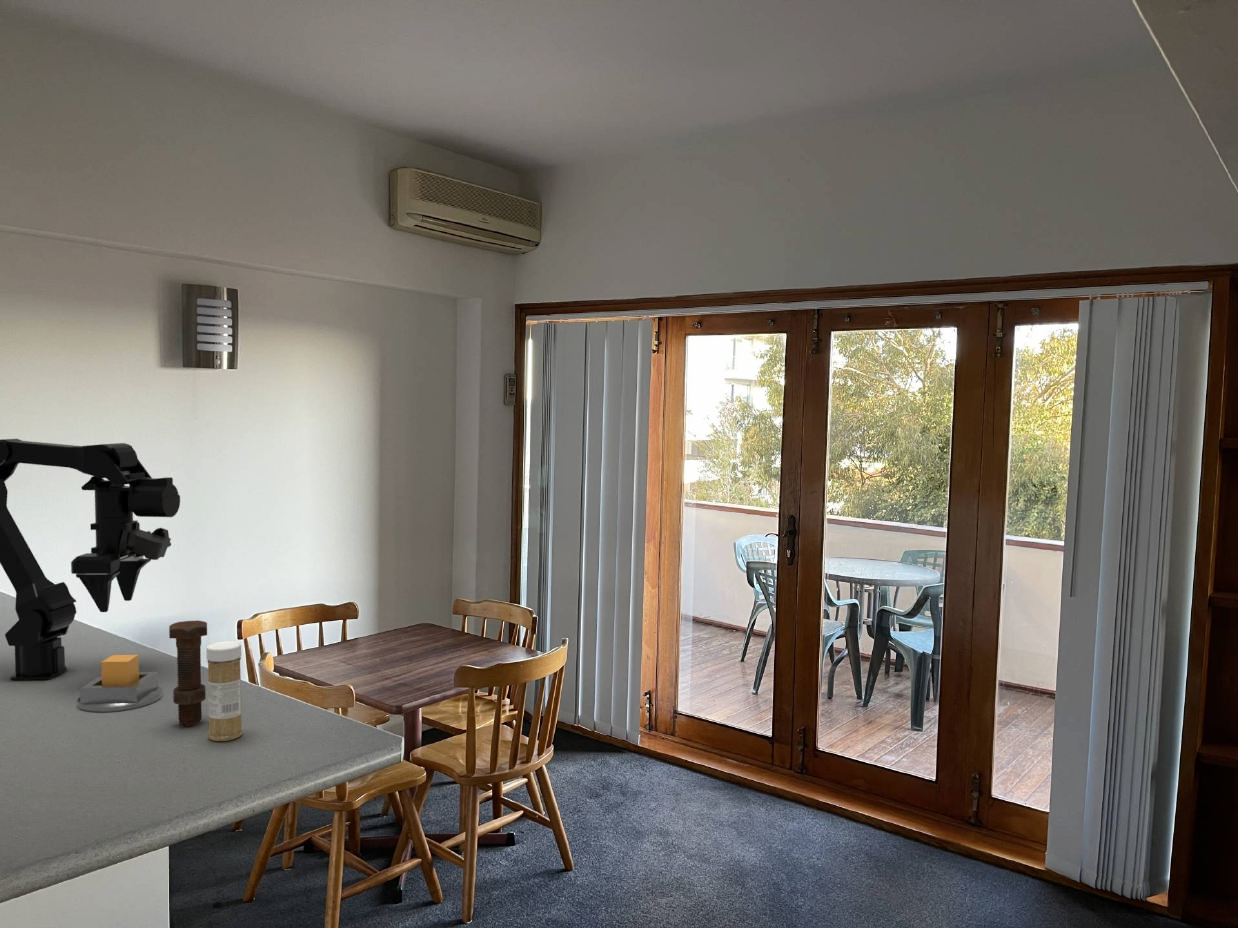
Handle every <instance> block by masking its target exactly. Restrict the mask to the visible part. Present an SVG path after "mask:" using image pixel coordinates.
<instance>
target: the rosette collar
mask: <svg viewBox="0 0 1238 928" xmlns="http://www.w3.org/2000/svg"><path fill="white" fill-rule="evenodd" d="M162 697H163V689H162V688H161V687H160V686H159V672H158V671H147V672H145V671H144V672H143V671H142V672H141V671H139V680H138V681H137V682H136V683H134V684H133V685H111V686H102V674H101V675H99V676H97V677H95V678H94V679H93V680H91V681H89V682H87V683H86V684H84V685H83V686H80V688H79V697H78V698H77V701H76V702H77V703H76V704H77V708H78V709H79V710H80V711H82V712H83V711H84V712H89V713H115V712H116V713H117V712H123V711H124V712H125V711H131V710H135V709H138V708H143V707H146V706H149V705H153V704H154V703H157V702H158V701H160V700H161V699H162Z"/></svg>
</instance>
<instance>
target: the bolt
mask: <svg viewBox="0 0 1238 928" xmlns="http://www.w3.org/2000/svg"><path fill="white" fill-rule="evenodd" d="M168 633H169V639H175V647H176V655H177V656H176V657H177V658H176V662H177V663H176V664H177V665H176V666H177V667H176V668H177V686H176V687H175V688H173V690H172V691H173V692H172V696H173V697H172V698H173V703H174V704H176V705H177V706H178V707H177V709H178V710H177V711H178V715H177V716H178V717H177V720H178V723H179V725H180V726H181V727H183V726H186V727H187V728H188V727H193V726H195V725H197V724H199V723H200V722H201V721H202V715H203V714H202V702H204V701H205V700H206V685H204V684H202V675H201V673H202V671H201V670H202V669H201V667H202V664H201V663H202V661H201V660H202V659H201V657H202V656H201V654H202V653H201V652H202V650H201V646H202V637H205V636H208V622H206V621H203V620H186V621H185V620H184V621H178V622H175V623H172V624H170V625H169V632H168Z"/></svg>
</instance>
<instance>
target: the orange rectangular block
mask: <svg viewBox="0 0 1238 928" xmlns="http://www.w3.org/2000/svg"><path fill="white" fill-rule="evenodd" d="M139 657H140V656H139V654H112V655H110V656H109V657H107V658H105V659H104V660H102V661H101V663H100V665H101V675H102V686H111V685H133V684H134V683H136V682H137V681H138V680H139V672H140V667H139V666H140V662H139V661H140V659H139Z"/></svg>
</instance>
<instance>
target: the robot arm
mask: <svg viewBox="0 0 1238 928" xmlns="http://www.w3.org/2000/svg"><path fill="white" fill-rule="evenodd" d="M19 464H25V465H27V464H28V465H35V466H45V467H46V466H48V467H59V468H69V469H73V470H76V471H79V472H80V473H82V474H86V475H89V476H91V477H90V478H89V480H88V481H87V482H86V483H84V484H83V485H82V486H80V487H81V490H82V491H94V517H95V521H94V522H93V523H90V531H95V546H93V547H91V548H90V552H89V553H88V552H87V553H83V554H79V555H78V556H76V557H75V558H73V559H72V561H70V567H71V569H70V572H71V575H72V574H73V575H75V578H77V579H79V580H80V582H81V583H82V584H83V585H84V587H85V589H86V591H87V592H88V594H89V595H90V597H91V599H92V600H93V602H94V603H95V605H96V607H97V609H98V610H99V612H100V613H107V612H108V611H109V606H110V601H111V600H110V599H111V593H112V591H111V590H112V583H113V580H114V579H115V578H116V581H117V584H118V587H119V590H120V593H121V595H122V598H123V600H124V601H125V602H129V601H132V599H133V596H134V593H135V589H136V587H137V582H138V579H139V576H140V573H141V570H142V569H143V568H144V567H145V566H146V565H147V564H148V563H150V562H151V561H157V560H159V559H160V558H164V557H165V555H166V552H167V550H168V548H170V547H171V546H172V542H171V540H172V538H170V535H169V530H168V529H165V528H163V527H159V528H158V527H157V528H155V530H154V531H150V530H143V529H141V528H140V527H141V525H140V522H138V520H134V515H135V516H136V517H139V518H141V517H142V518H173V517H175V516H176V514H178V511H179V510H180V506H181V495H180V494H179V491H178V488H177V487H176V485H174V481H173V480H174V479H173V478H172V477H169V476H167V477H165V476H164V477H159V478H155V477H153V476H152V475H150V474H149V472H148V470H147V469H146V467H144V466H143V464H142V462H141V461H140V460H139V459H138V455H137V452H136V450H135V449H134V448H133V446H132V445H131V444H128V443H125V442H119V443H118V442H117V443H102V444H92V445H91V444H90V445H73V444H72V445H71V444H63V443H53V442H52V443H51V442H50V443H49V442H41V441H27V440H21V439H19V438H5V439H4V438H3V439H0V566H1V567H2V569H3V571H4V573H5V574H6V577H7V578H8V580H9V581H10V583H11V585H12V587H13V589H14V591H15V605H14V606H15V607H14V609H15V612H16V615H17V618H18V620H17V622H15V623H14V624H13V626H12V627H10V628H9V629H8V630H7V632H6V633H4V636H5V640H6V642H7V644H8V646H10V647H14V663H15V664H14V665H15V666H14V667H15V669H14V670H15V671H14V672H15V673H14V674H13V675H11V676H10V677H9V680H12V681H22V680H26V681H27V680H51V679H52V678H53V677H56V676H57V675H59V674H60V673H61V674H62V673H63V672H65V671H66V670H67V669H68V666H67V665H66V662H65V661H66V658H65V657H66V655H65V653H66V652H65V646H64V645H62V637H61V636H65V635H67V634H68V631H69V627H70V625H72V623H73V621H74V620H75V616H76V615H77V607H76V605H75V603H77V599H76V598H74V597H73V596H72V594H71V593H70V591H69V587H68V585H67V584H66V582H64V581H62V582H59V583H54V582H53V581H51V580H50V579H48V578H47V577H46V575H45V573H44V572H43V570H42V567H41V566H40V564H39V562H38V560H37V559H36V557H35V556H34V554H33V551H32V549H30V546H29V544H28V543H27V541H26V540H25V537H24V536H23V534H22V532H21V530H20V529H19V527H18V525H17V523H16V521H15V520H14V518H13V516H12V514H11V513H10V510H9V508H8V488H7V485H6V481H7V480H8V479H9V478H10V477H12V475H13V474H14V473H15V471H16V469H17V468H18V466H19ZM106 479H107V480H106ZM144 557H145V558H144Z"/></svg>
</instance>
